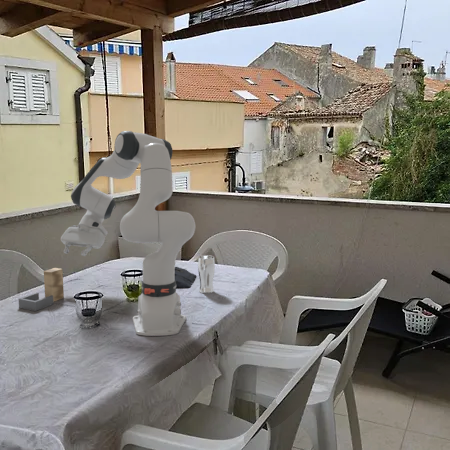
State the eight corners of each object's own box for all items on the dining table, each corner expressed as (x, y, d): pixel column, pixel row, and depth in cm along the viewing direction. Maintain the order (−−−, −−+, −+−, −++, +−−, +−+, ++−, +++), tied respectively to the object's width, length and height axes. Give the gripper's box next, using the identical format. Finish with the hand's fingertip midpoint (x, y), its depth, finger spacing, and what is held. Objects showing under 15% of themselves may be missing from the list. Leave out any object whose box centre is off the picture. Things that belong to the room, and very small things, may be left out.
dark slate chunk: (156, 288, 218) (155, 278, 217) (165, 275, 239) (165, 265, 238) (191, 289, 216) (191, 279, 216) (197, 276, 238) (197, 266, 237)
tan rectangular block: (56, 296, 205) (54, 267, 203) (63, 297, 203) (62, 268, 201) (45, 300, 199) (43, 271, 197) (52, 301, 197) (51, 272, 195)
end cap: (37, 301, 198) (36, 292, 198) (53, 304, 195) (53, 295, 194) (19, 307, 190) (18, 298, 190) (35, 311, 187) (35, 302, 186)
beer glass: (215, 289, 216) (215, 255, 213) (213, 294, 209) (213, 259, 206) (199, 288, 216) (199, 254, 214) (197, 293, 209) (196, 258, 207)
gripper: (66, 220, 218) (51, 247, 211) (104, 224, 209) (89, 252, 202) (74, 229, 223) (59, 255, 216) (111, 233, 214) (96, 260, 207)
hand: (74, 253), depth 209 cm, fingers open, 8 cm apart
